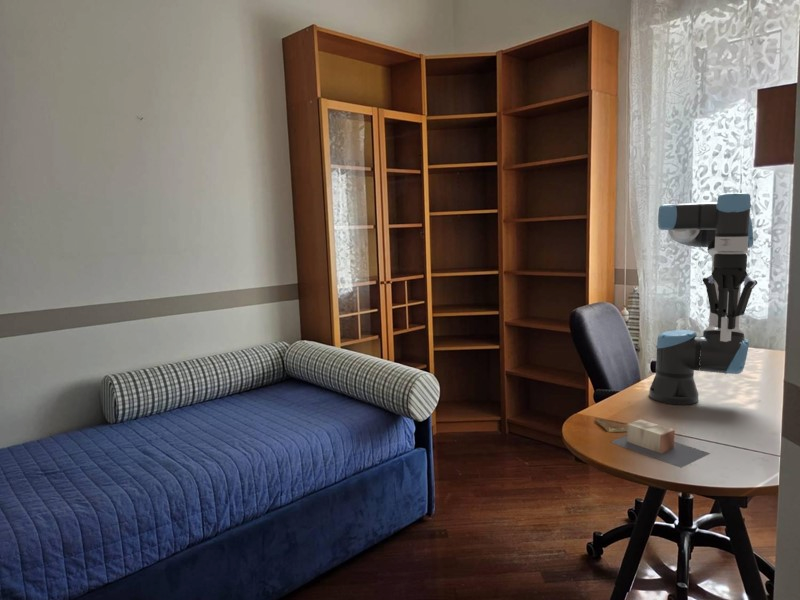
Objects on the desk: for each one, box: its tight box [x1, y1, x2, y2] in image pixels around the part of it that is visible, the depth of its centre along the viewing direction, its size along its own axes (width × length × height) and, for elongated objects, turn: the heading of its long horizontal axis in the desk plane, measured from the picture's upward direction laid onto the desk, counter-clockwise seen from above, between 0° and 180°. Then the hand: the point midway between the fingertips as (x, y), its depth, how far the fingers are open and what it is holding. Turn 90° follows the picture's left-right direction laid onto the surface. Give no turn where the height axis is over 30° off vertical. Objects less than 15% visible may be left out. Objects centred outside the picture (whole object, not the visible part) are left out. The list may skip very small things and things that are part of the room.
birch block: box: [626, 419, 676, 453], centre depth 150 cm, size 6×5×10 cm
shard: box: [593, 417, 627, 433], centre depth 165 cm, size 11×8×2 cm
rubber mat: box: [610, 435, 711, 469], centre depth 148 cm, size 14×20×1 cm
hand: (725, 340), depth 149 cm, fingers closed
